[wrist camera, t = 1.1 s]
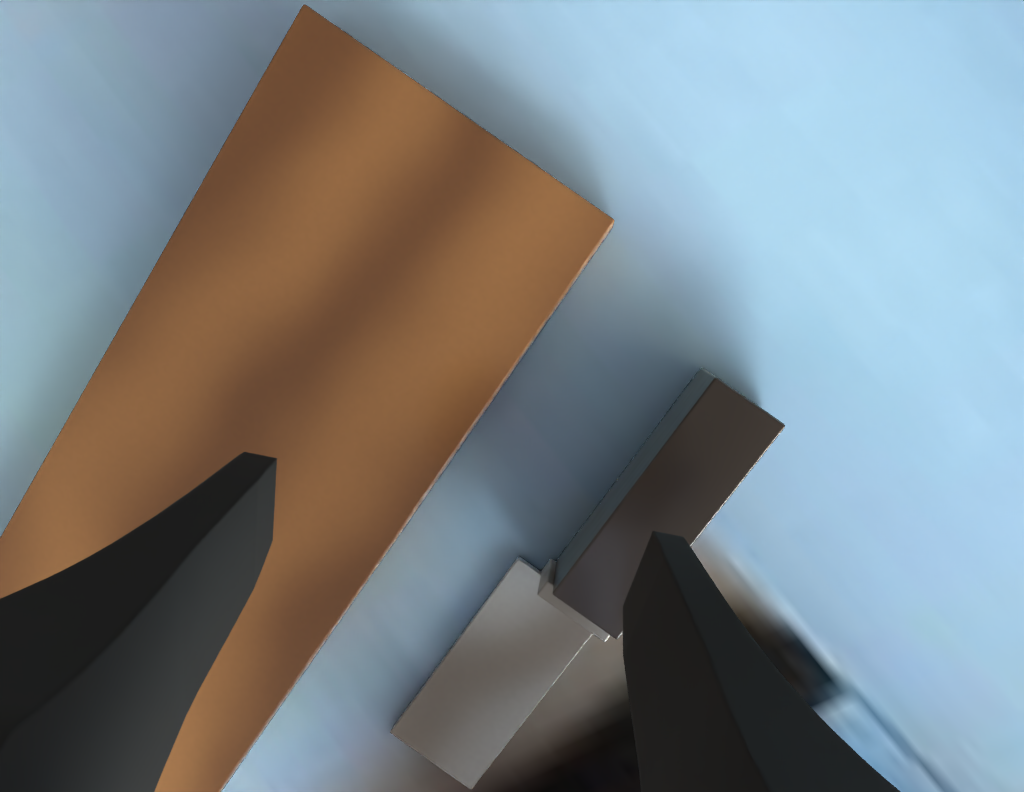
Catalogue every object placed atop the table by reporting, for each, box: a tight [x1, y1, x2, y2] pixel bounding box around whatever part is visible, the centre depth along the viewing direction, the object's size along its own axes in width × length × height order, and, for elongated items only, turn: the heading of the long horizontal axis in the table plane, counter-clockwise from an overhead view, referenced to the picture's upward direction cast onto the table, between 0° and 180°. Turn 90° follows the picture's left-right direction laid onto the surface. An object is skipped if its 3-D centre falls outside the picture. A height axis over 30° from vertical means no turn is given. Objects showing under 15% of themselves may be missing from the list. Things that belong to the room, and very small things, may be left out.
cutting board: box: [0, 5, 614, 792], centre depth 24 cm, size 11×26×2 cm, turn 146°
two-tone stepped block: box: [390, 368, 785, 790], centre depth 23 cm, size 4×17×3 cm, turn 146°
